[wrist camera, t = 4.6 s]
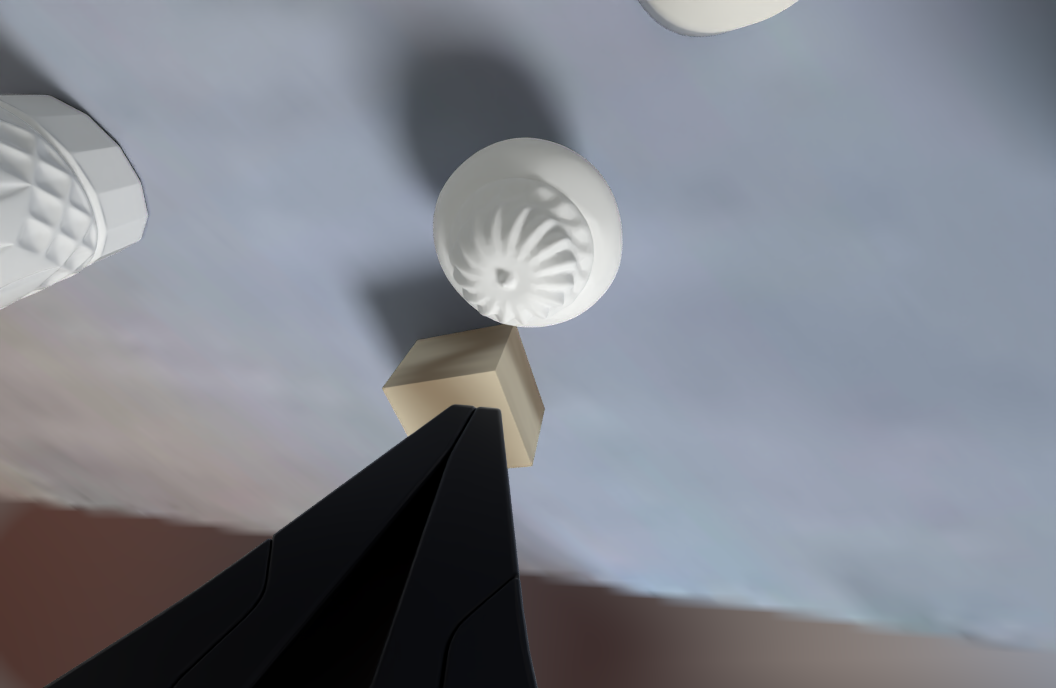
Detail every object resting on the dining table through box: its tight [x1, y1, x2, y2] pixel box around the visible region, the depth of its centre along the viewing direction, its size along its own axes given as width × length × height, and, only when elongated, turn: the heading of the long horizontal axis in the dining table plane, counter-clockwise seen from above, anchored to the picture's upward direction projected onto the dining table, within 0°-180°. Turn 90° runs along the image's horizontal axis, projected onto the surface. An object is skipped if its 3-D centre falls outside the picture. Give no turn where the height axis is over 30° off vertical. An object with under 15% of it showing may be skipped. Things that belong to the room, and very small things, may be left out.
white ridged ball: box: [433, 138, 623, 327], centre depth 15 cm, size 6×6×7 cm
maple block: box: [382, 324, 545, 468], centre depth 21 cm, size 5×5×4 cm
